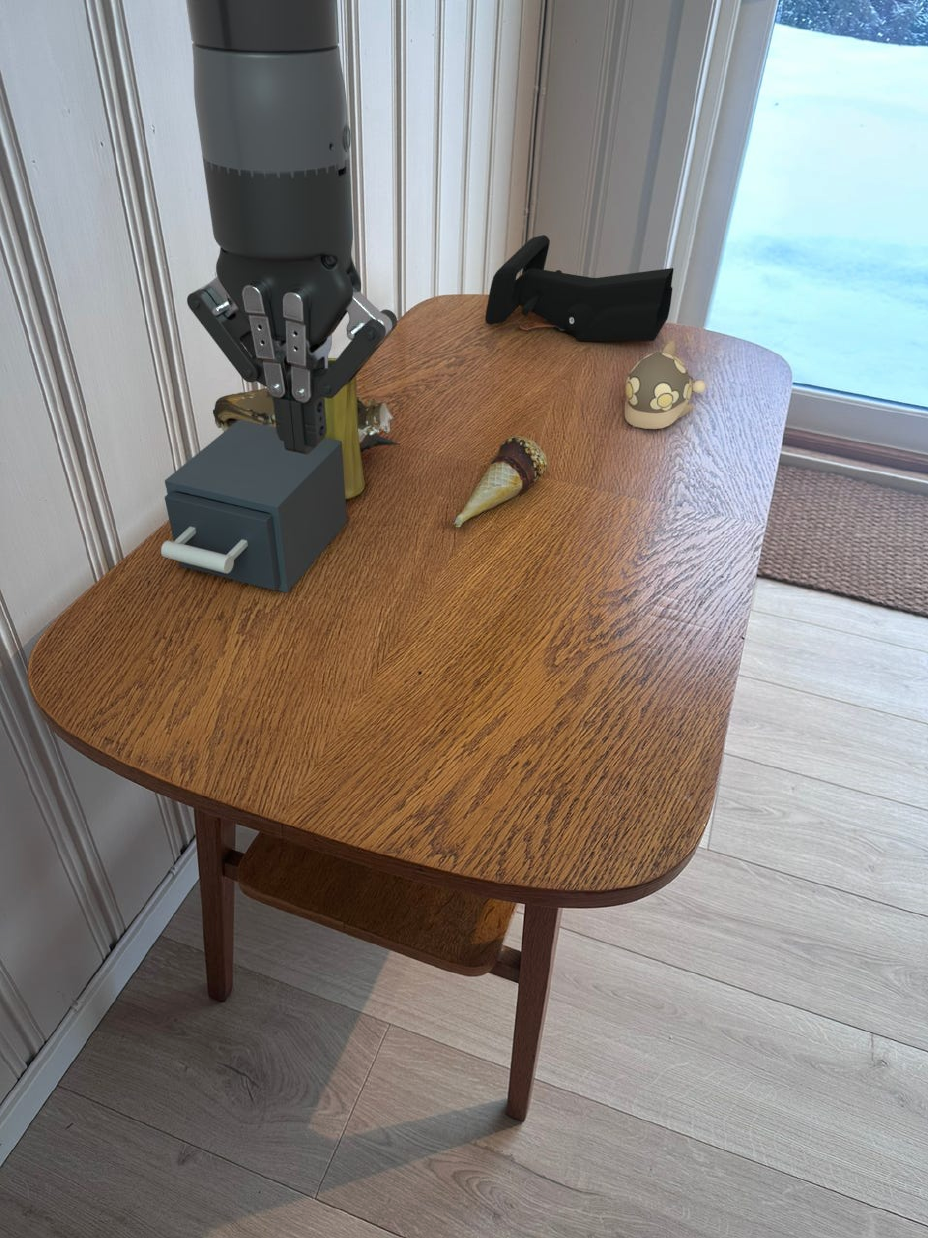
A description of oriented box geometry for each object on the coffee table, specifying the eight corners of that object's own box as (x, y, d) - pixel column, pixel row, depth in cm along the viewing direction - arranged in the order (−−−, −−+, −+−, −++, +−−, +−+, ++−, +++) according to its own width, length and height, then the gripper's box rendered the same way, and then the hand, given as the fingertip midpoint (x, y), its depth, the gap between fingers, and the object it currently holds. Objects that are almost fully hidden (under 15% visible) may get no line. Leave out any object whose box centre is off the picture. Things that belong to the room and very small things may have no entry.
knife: (602, 331, 140) (597, 323, 142) (603, 328, 139) (598, 319, 142) (521, 332, 137) (517, 323, 140) (521, 328, 137) (517, 320, 139)
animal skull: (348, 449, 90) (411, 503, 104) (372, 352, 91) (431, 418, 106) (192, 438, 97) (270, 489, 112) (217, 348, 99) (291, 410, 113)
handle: (664, 351, 126) (647, 244, 118) (494, 371, 140) (468, 276, 131) (691, 305, 138) (677, 205, 130) (532, 327, 151) (510, 238, 143)
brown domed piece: (637, 413, 127) (606, 425, 114) (648, 333, 123) (617, 336, 110) (708, 422, 123) (684, 435, 110) (721, 340, 119) (698, 344, 106)
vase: (357, 504, 97) (351, 382, 88) (303, 498, 98) (292, 377, 89) (370, 476, 102) (365, 358, 93) (318, 471, 103) (309, 353, 93)
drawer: (251, 618, 80) (240, 547, 75) (152, 591, 83) (135, 521, 78) (331, 525, 93) (326, 459, 88) (242, 504, 95) (233, 438, 90)
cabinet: (287, 593, 85) (277, 506, 79) (182, 565, 88) (164, 480, 82) (347, 522, 95) (342, 440, 89) (250, 500, 98) (238, 419, 91)
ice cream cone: (431, 493, 94) (511, 418, 101) (437, 533, 98) (514, 458, 105) (477, 513, 91) (556, 435, 98) (482, 553, 95) (557, 475, 102)
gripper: (122, 147, 44) (181, 454, 55) (362, 178, 41) (374, 497, 52) (204, 121, 50) (242, 404, 61) (421, 146, 47) (420, 441, 58)
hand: (303, 446), depth 56 cm, fingers closed
